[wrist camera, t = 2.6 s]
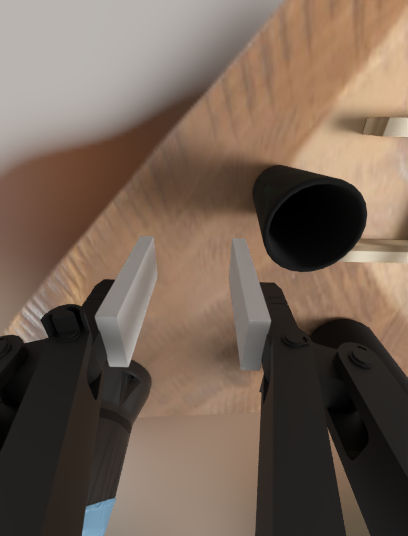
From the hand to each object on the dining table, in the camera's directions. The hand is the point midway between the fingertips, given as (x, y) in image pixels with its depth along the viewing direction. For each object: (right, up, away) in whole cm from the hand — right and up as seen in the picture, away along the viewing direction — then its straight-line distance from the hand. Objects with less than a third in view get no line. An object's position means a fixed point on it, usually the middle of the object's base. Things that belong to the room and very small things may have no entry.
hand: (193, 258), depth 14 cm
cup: (+9, +9, +14) cm, 19 cm away
